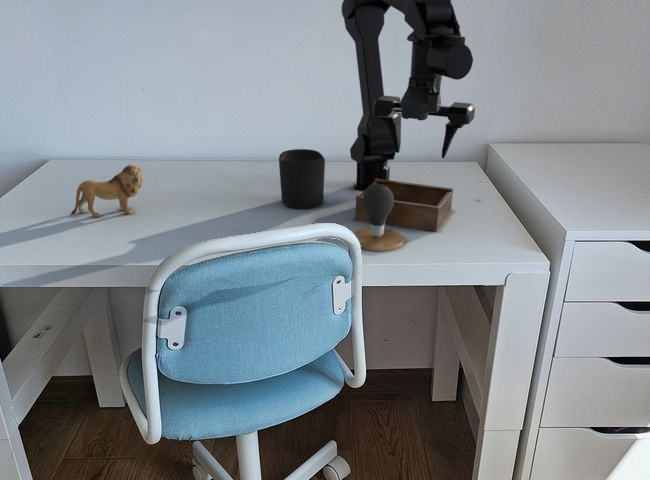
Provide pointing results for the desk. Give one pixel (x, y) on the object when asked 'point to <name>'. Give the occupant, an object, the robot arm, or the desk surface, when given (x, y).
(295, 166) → the pen holder
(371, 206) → the light bulb
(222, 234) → the desk surface
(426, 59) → the robot arm
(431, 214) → the wooden cubby shelf
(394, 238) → the coaster
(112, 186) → the lion figurine
